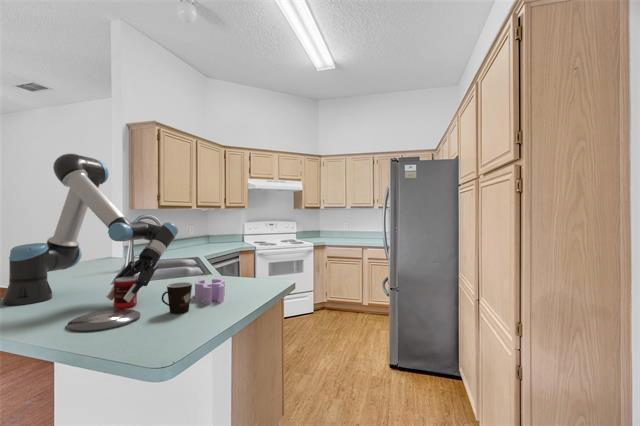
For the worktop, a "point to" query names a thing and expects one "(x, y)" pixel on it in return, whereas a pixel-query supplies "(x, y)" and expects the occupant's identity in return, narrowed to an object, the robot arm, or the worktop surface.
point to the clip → (210, 290)
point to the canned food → (124, 292)
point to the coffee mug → (178, 297)
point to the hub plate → (103, 320)
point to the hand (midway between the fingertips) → (117, 299)
